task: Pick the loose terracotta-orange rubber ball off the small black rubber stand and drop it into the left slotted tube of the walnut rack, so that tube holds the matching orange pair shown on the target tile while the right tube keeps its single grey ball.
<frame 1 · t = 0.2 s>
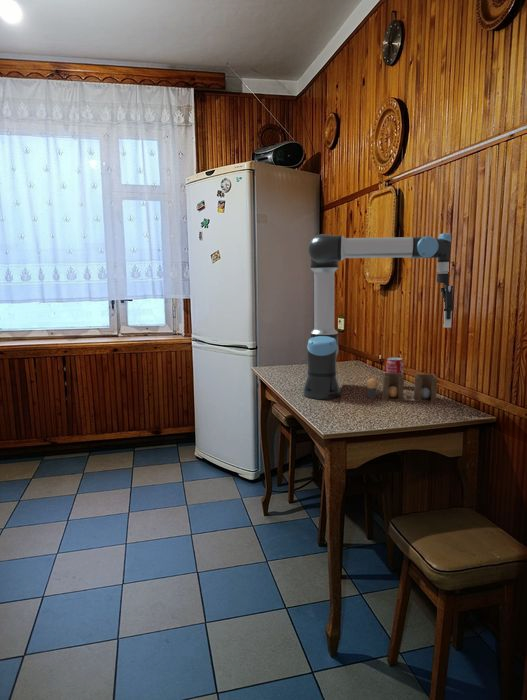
hand: (444, 325, 191), 28 cm above the table, fingers open, 13 cm apart
rubber stand: (371, 399, 185), on the table
soda can: (393, 388, 202), on the table
orange ball in tube: (392, 397, 183), point 1 cm above the table, touching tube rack
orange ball: (371, 389, 184), point 4 cm above the table, touching rubber stand
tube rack: (408, 400, 182), on the table
grey ball: (424, 398, 181), point 1 cm above the table, touching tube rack
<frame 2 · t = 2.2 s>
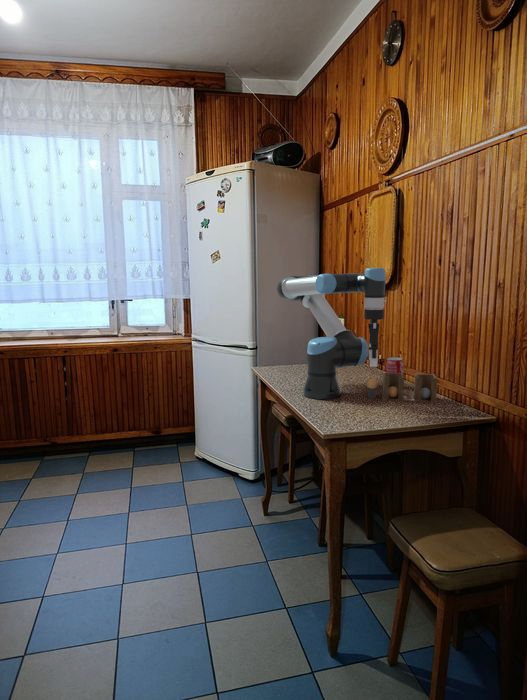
hand: (373, 363, 182), 14 cm above the table, fingers open, 13 cm apart
nothing on the table moved.
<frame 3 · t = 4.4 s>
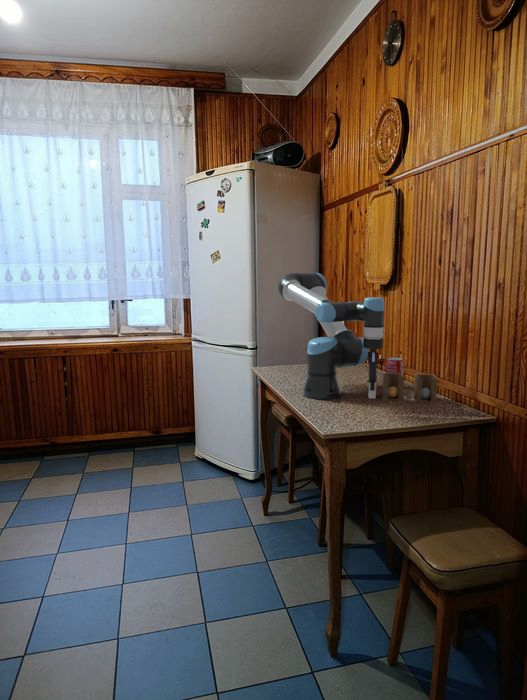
hand: (371, 396, 184), 1 cm above the table, fingers closed on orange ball, 4 cm apart
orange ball: (371, 389, 184), point 4 cm above the table, touching gripper, rubber stand
everything else where it was.
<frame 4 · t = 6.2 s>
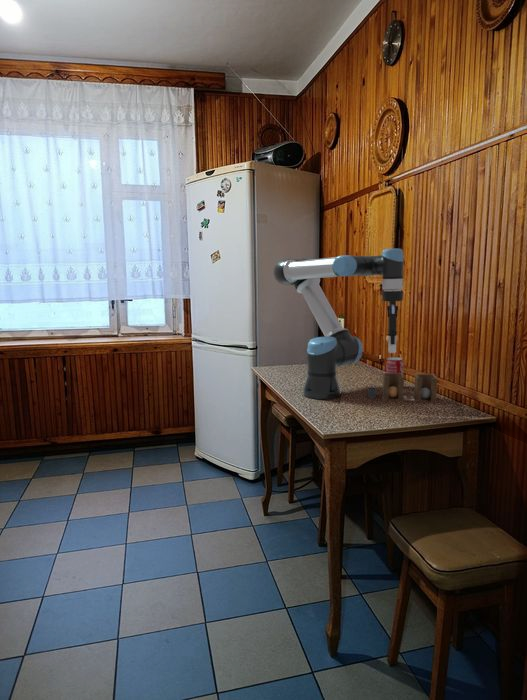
hand: (392, 351, 179), 19 cm above the table, fingers closed on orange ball, 4 cm apart
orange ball: (392, 344, 179), point 22 cm above the table, touching gripper
everything else where it was.
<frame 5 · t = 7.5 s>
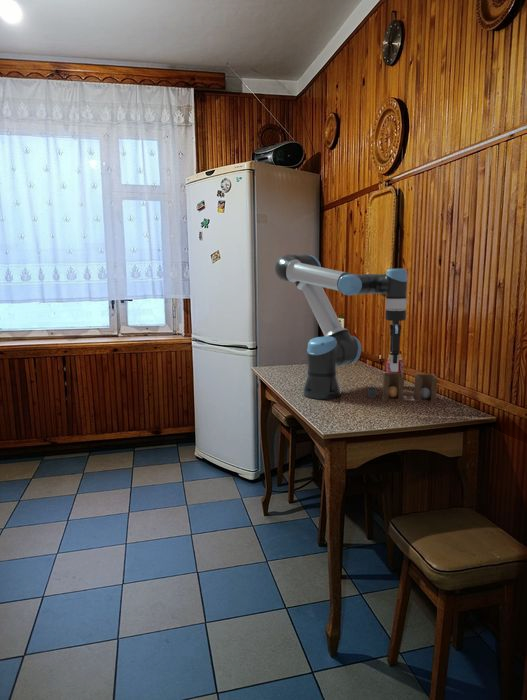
hand: (393, 369, 181), 12 cm above the table, fingers closed on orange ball, 4 cm apart
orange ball: (394, 362, 181), point 15 cm above the table, touching gripper
everything else where it was.
when the fingers open (11 cm above the table, at t = 8.3 s): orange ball drops 9 cm, resting on orange ball in tube.
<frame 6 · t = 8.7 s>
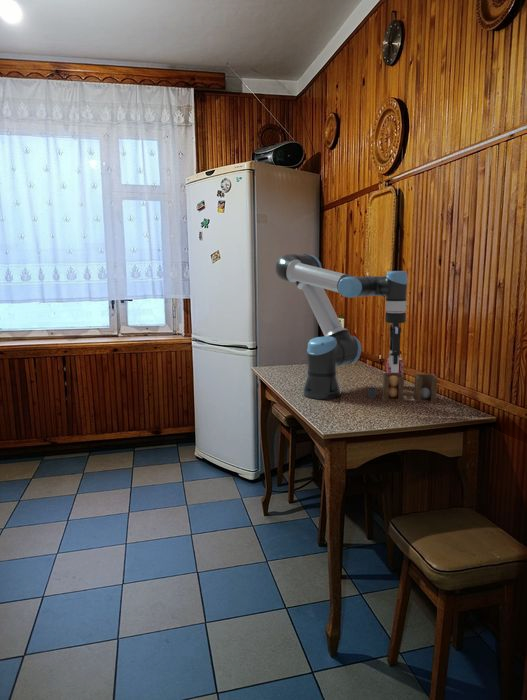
hand: (393, 369, 181), 12 cm above the table, fingers open, 10 cm apart
orange ball in tube: (392, 397, 183), point 1 cm above the table, touching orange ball, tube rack
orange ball: (393, 386, 182), point 5 cm above the table, touching orange ball in tube
everything else where it was.
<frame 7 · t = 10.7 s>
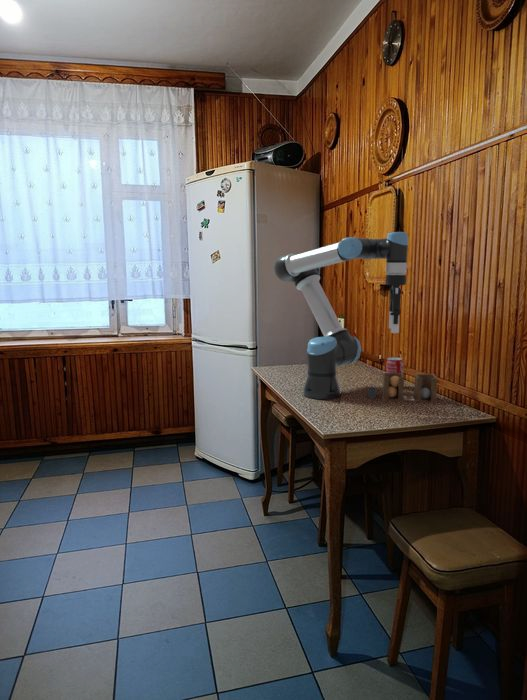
hand: (393, 330, 179), 27 cm above the table, fingers open, 13 cm apart
orange ball in tube: (392, 397, 183), point 1 cm above the table, tilted 16°, touching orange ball, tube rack
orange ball: (390, 384, 182), point 6 cm above the table, tilted 58°, touching orange ball in tube, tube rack
everything else where it was.
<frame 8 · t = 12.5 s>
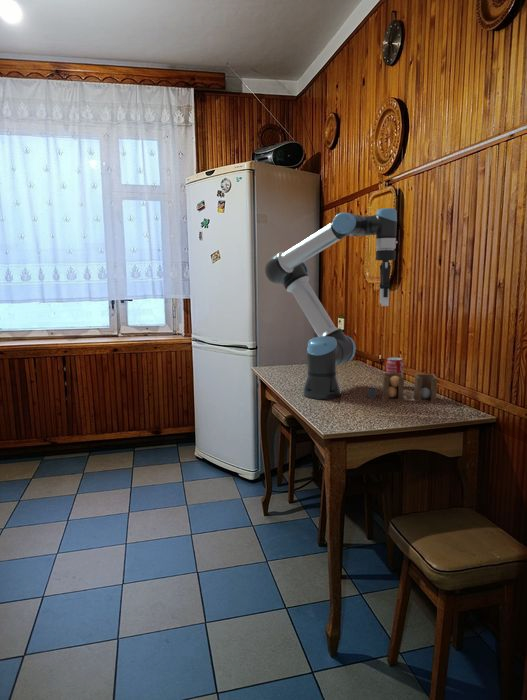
hand: (384, 304, 185), 37 cm above the table, fingers open, 13 cm apart
nothing on the table moved.
at the end: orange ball 0.9 cm from the target spot on the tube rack, point 6.1 cm above the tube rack's base; orange ball in tube 0.0 cm from the target spot on the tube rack, point 1.1 cm above the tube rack's base; the gripper is holding nothing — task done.
